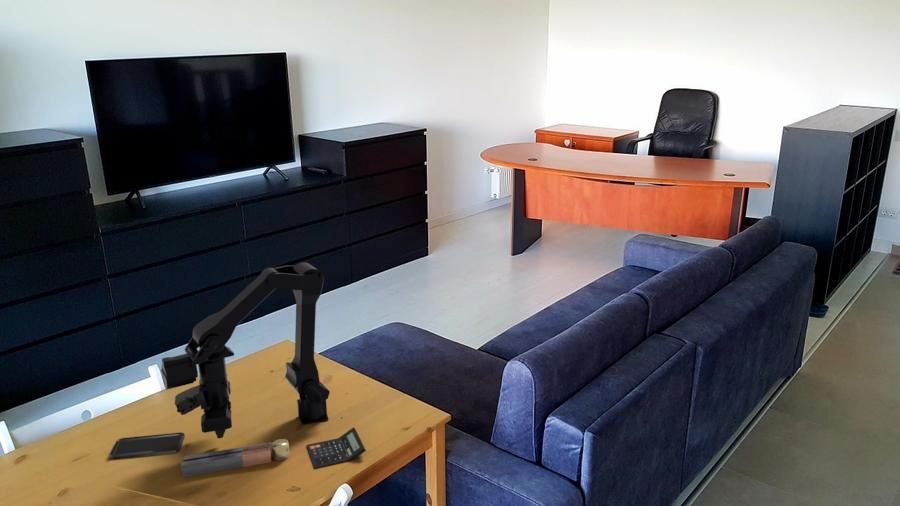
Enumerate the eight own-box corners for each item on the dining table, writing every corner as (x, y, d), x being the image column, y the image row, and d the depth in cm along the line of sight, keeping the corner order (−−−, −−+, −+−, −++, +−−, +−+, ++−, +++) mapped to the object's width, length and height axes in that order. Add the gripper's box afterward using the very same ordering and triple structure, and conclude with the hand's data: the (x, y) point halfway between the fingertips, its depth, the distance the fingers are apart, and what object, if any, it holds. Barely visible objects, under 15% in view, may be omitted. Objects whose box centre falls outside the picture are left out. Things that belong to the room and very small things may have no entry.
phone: (117, 438, 156) (185, 431, 159) (118, 442, 157) (185, 435, 159) (107, 457, 149) (178, 450, 152) (108, 462, 149) (179, 454, 152)
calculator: (306, 448, 155) (306, 436, 154) (356, 437, 159) (355, 426, 158) (314, 470, 146) (314, 459, 146) (366, 459, 151) (365, 447, 150)
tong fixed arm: (271, 458, 150) (270, 447, 149) (271, 462, 149) (270, 451, 148) (182, 473, 145) (181, 461, 144) (182, 478, 143) (180, 466, 142)
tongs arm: (289, 450, 153) (288, 437, 152) (290, 458, 150) (289, 446, 149) (185, 467, 147) (183, 454, 146) (183, 476, 143) (182, 463, 142)
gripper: (177, 363, 156) (185, 422, 160) (172, 402, 139) (180, 467, 144) (227, 357, 159) (233, 414, 164) (228, 394, 142) (235, 457, 147)
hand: (220, 437), depth 154 cm, fingers closed
